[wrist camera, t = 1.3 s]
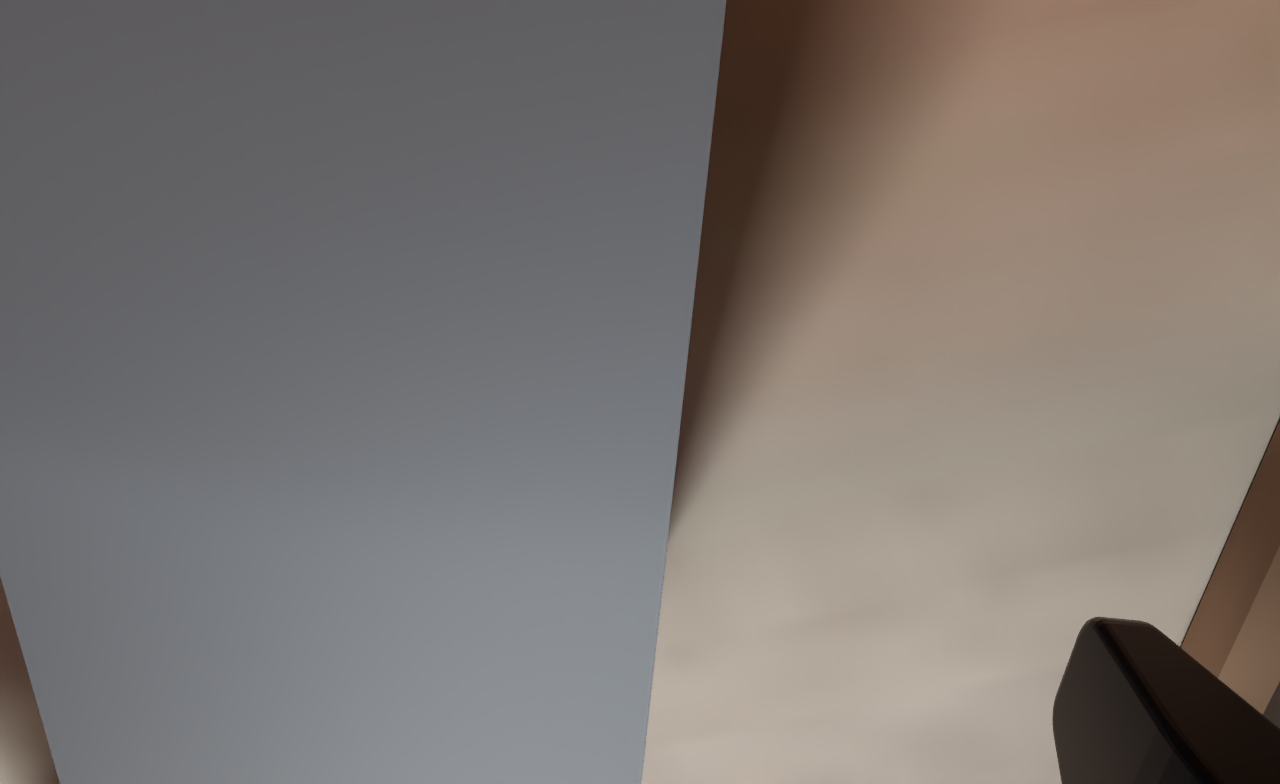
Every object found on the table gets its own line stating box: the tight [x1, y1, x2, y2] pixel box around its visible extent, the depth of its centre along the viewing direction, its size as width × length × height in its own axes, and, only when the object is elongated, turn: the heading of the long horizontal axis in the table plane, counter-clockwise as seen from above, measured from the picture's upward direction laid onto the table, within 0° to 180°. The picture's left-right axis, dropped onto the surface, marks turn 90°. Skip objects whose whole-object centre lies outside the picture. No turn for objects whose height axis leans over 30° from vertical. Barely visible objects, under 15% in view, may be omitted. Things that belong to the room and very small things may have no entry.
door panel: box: [0, 0, 727, 784], centre depth 9 cm, size 10×3×9 cm, turn 176°
